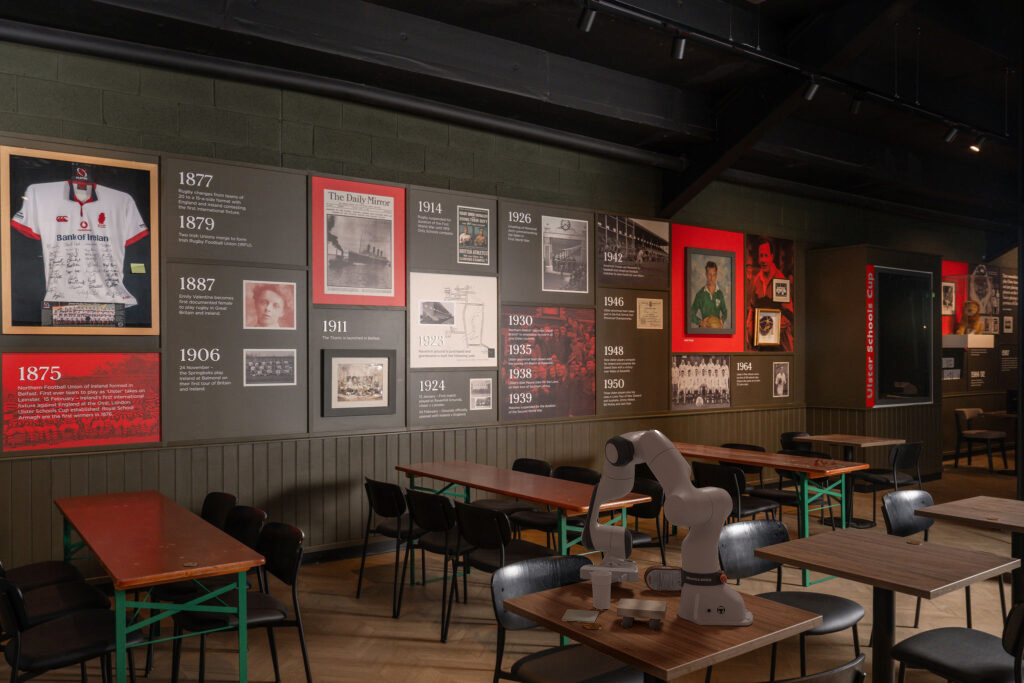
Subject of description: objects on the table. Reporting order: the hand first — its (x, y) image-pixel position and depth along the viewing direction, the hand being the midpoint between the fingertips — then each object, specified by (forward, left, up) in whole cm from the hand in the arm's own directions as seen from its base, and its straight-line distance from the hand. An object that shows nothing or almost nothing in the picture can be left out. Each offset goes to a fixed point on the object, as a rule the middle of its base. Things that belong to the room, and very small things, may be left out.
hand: (606, 579), depth 252 cm
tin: (-19, -12, -6) cm, 23 cm away
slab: (-14, +24, -6) cm, 28 cm away
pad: (+5, +23, -6) cm, 24 cm away
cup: (0, +12, -6) cm, 13 cm away
